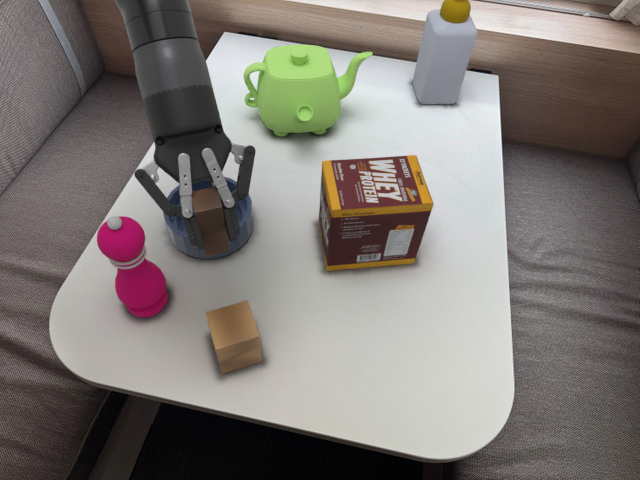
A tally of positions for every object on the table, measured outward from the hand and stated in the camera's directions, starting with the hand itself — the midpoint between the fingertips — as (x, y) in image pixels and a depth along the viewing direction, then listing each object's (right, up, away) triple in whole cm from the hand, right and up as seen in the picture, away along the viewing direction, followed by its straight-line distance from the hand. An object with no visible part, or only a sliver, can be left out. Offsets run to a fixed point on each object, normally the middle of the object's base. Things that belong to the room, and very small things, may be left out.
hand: (217, 243), depth 59 cm
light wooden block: (-1, -16, +18) cm, 24 cm away
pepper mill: (-15, -9, +23) cm, 29 cm away
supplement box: (+19, 0, +31) cm, 37 cm away
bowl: (-7, +3, +32) cm, 33 cm away
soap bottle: (+37, +33, +58) cm, 77 cm away
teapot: (+9, +24, +49) cm, 56 cm away
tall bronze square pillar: (-1, 0, +5) cm, 5 cm away
